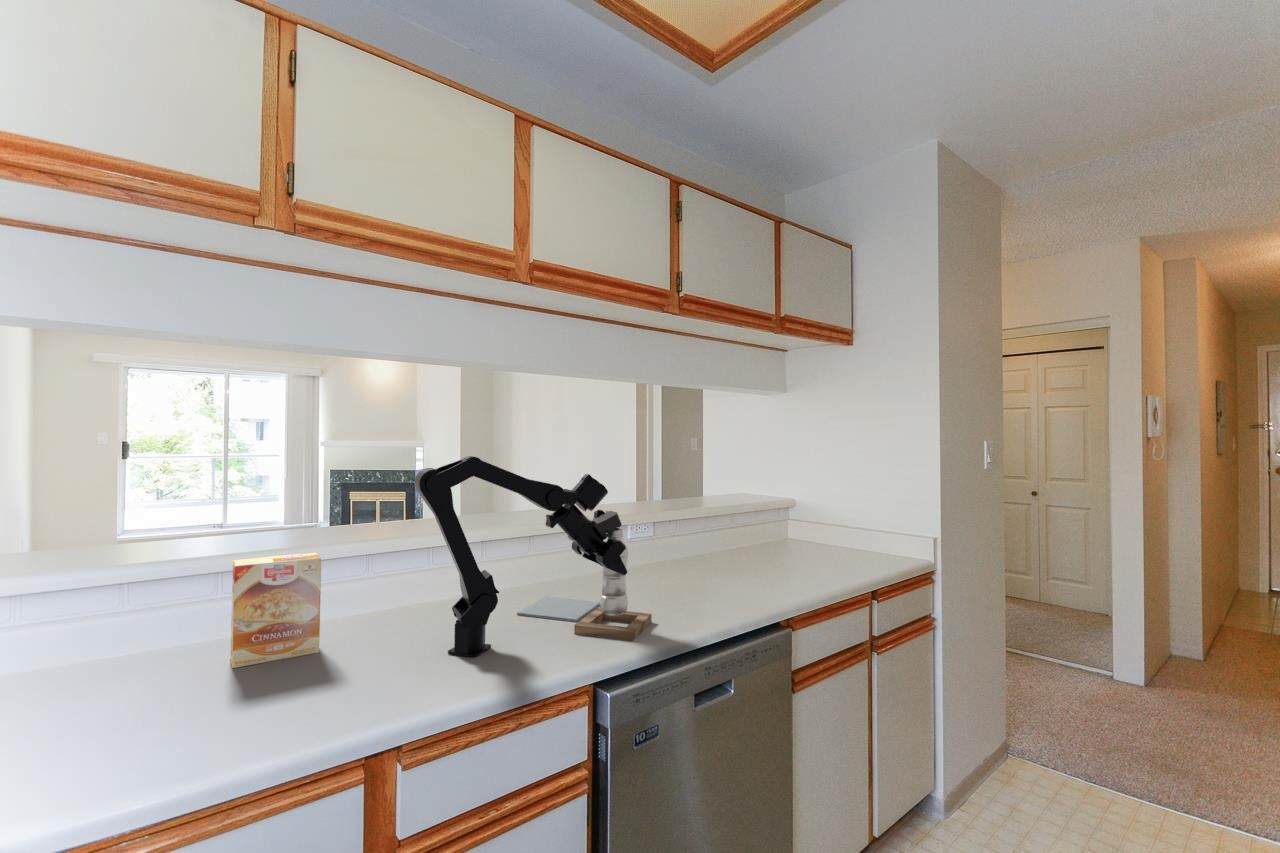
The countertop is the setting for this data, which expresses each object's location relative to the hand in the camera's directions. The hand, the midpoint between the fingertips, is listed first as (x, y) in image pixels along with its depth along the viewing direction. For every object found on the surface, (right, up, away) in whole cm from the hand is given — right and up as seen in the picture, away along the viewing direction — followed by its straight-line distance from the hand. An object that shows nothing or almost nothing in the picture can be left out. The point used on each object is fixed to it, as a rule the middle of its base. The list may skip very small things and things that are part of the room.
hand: (619, 570), depth 142 cm
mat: (-16, -13, +13) cm, 24 cm away
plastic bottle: (-1, -10, -1) cm, 10 cm away
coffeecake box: (-68, -12, -20) cm, 72 cm away
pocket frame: (-1, -13, -1) cm, 13 cm away
